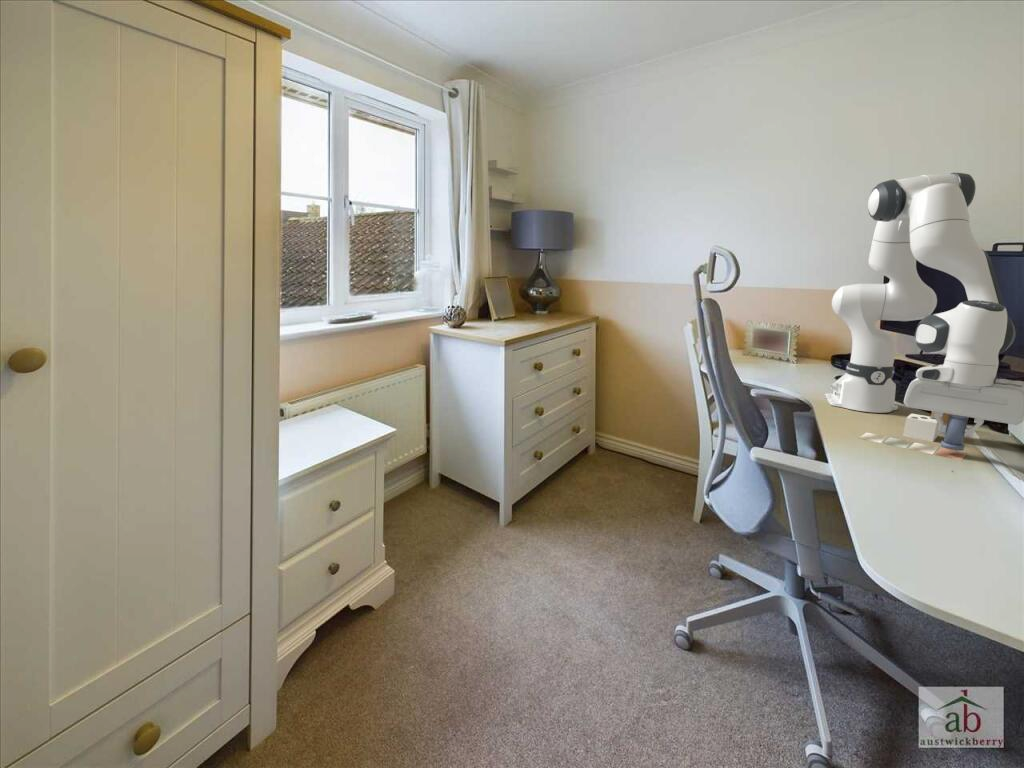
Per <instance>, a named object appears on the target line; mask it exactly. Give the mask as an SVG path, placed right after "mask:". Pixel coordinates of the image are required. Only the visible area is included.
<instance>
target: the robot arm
mask: <svg viewBox="0 0 1024 768" xmlns="http://www.w3.org/2000/svg"><path fill="white" fill-rule="evenodd" d="M976 187H977V186H976V180H975V179H974V178H973V177H972V175H971V174H969V173H964V172H951V173H931V174H928V173H927V174H922V175H917V176H911V177H905V178H900V179H889V180H886V181H883V182H880V183H877V184H876V186H874V188H873V189H872V191H871V192H870V194H869V198H868V201H867V207H868V208H867V209H868V210H867V211H868V215H869V217H871V219H873V221H877V222H876V225H875V228H874V232H873V236H872V240H871V244H870V246H871V247H870V250H869V255H868V261H867V263H868V266H869V267H870V269H871V270H873V271H874V272H876V273H878V274H880V275H883V276H884V277H886V278H888V279H889V281H888V282H887V283H853V284H848V285H847V284H846V285H842V286H840V287H839V288H838V289H837V290H835V292H834V294H833V296H832V298H831V308H832V311H833V313H834V314H835V315H837V316H838V317H839V318H840V319H841V320H843V322H844V323H845V324H846V325H847V327H848V330H849V331H850V334H851V342H852V343H851V353H850V361H849V362H848V363H847V365H846V368H845V373H844V374H843V375H842V376H840V377H839V378H838V379H837V380H836V381H835V382H832V383H831V385H830V390H832V391H833V392H827V393H824V397H825V396H826V397H825V399H826V398H827V399H826V400H827V402H828V403H829V405H830V406H834V407H839V408H843V409H844V408H845V409H847V410H848V409H849V410H853V411H859V412H864V413H865V412H866V413H877V414H878V413H879V414H881V413H883V414H885V413H890V412H893V411H898V410H899V406H898V405H895V400H896V389H897V384H896V382H894V381H893V379H892V378H893V377H894V374H895V366H894V363H895V356H896V352H897V351H896V350H897V346H898V343H897V340H896V339H895V337H894V336H892V335H890V334H889V333H887V332H885V331H883V330H882V329H879V328H878V327H877V325H876V321H894V322H895V321H896V322H897V321H899V322H910V321H918V320H919V322H918V324H917V326H916V327H915V331H914V334H913V336H914V341H915V344H916V346H917V347H918V348H919V349H920V350H921V351H922V352H924V353H928V354H934V355H945V358H944V361H943V364H935V365H928V366H922V367H920V368H918V369H917V370H916V371H915V378H914V379H913V380H911V382H910V383H909V385H908V387H907V389H906V391H905V394H904V399H903V404H904V406H905V407H907V408H910V409H911V408H912V409H918V410H922V411H923V410H924V411H929V412H932V411H934V412H935V414H934V417H935V419H936V421H937V423H938V424H939V426H938V431H940V432H946V429H947V424H945V423H944V422H943V420H942V418H941V417H942V416H943V415H944V413H947V414H953V415H959V416H965V417H969V418H972V419H974V421H973V423H974V425H973V426H972V427H967V426H966V429H965V433H964V437H967V438H973V437H974V436H975V431H976V430H977V429H978V428H979V427H981V426H983V424H984V423H985V421H990V422H996V423H1003V424H1008V425H1014V426H1018V425H1020V424H1021V423H1023V422H1024V381H1022V380H1011V379H1005V378H1000V377H999V378H998V377H997V373H998V368H999V364H1000V362H999V361H1000V360H999V355H1001V354H1003V353H1005V351H1007V350H1008V349H1009V348H1010V347H1011V346H1012V344H1013V343H1014V342H1015V338H1016V328H1015V325H1014V324H1013V321H1012V319H1011V318H1010V316H1009V314H1008V311H1007V308H1006V306H1005V304H1004V300H1003V297H1002V296H1003V295H1002V293H1001V289H1000V286H999V283H998V279H997V278H998V277H997V275H996V270H995V269H994V265H993V262H992V260H991V257H990V256H989V254H988V253H987V251H985V250H984V249H982V248H981V247H980V246H979V244H978V242H977V241H976V240H975V237H974V235H973V233H972V229H971V225H970V223H971V222H970V215H969V209H968V207H969V206H970V205H971V204H972V202H973V201H974V197H975V194H976ZM917 262H918V263H920V264H922V265H923V266H926V267H928V268H931V269H934V270H938V271H941V272H943V273H946V274H947V275H950V276H952V277H954V278H955V279H957V280H958V281H959V282H961V284H962V286H963V287H964V289H965V293H966V297H967V300H965V301H962V302H960V303H959V304H958V305H957V306H956V307H953V308H952V309H950V310H947V311H944V312H942V311H941V312H939V313H933V312H934V310H935V309H936V308H937V304H938V297H937V294H936V292H935V291H934V289H933V288H931V287H930V286H928V285H927V283H925V282H924V281H923V280H922V279H921V277H920V275H919V273H918V270H917ZM897 409H898V410H897Z"/></svg>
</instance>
